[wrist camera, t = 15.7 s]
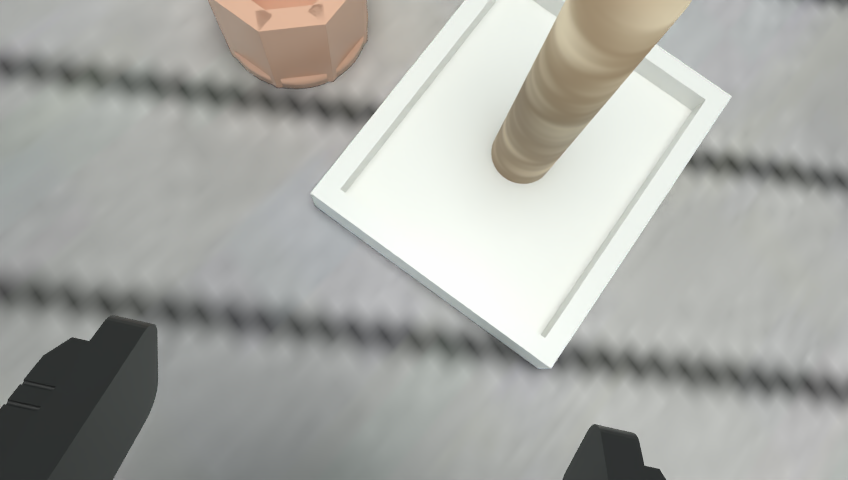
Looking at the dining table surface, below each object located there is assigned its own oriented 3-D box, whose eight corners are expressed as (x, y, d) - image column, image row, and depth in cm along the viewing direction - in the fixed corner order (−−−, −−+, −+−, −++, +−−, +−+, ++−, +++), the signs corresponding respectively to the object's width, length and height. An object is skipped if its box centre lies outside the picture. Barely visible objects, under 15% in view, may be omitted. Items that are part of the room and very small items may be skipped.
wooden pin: (479, 159, 35) (565, -18, 19) (513, 113, 35) (624, -96, 20) (530, 195, 34) (659, 47, 19) (563, 148, 35) (716, -34, 19)
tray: (315, 205, 35) (310, 193, 32) (501, -29, 38) (510, -57, 36) (538, 368, 34) (551, 368, 31) (708, 114, 37) (731, 96, 35)
